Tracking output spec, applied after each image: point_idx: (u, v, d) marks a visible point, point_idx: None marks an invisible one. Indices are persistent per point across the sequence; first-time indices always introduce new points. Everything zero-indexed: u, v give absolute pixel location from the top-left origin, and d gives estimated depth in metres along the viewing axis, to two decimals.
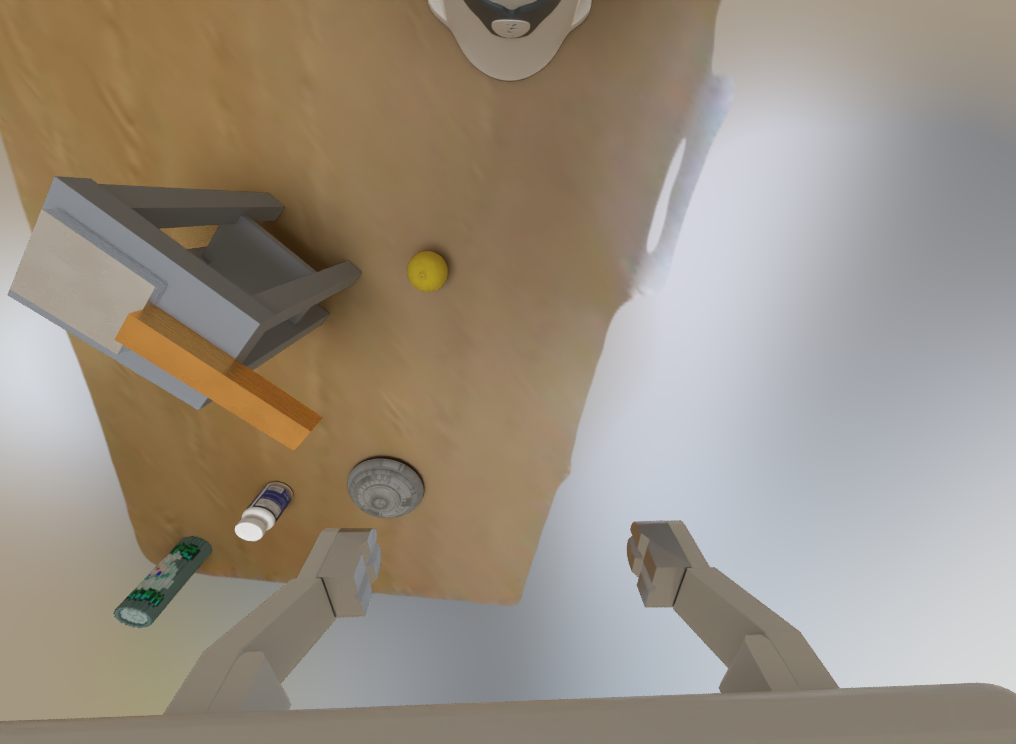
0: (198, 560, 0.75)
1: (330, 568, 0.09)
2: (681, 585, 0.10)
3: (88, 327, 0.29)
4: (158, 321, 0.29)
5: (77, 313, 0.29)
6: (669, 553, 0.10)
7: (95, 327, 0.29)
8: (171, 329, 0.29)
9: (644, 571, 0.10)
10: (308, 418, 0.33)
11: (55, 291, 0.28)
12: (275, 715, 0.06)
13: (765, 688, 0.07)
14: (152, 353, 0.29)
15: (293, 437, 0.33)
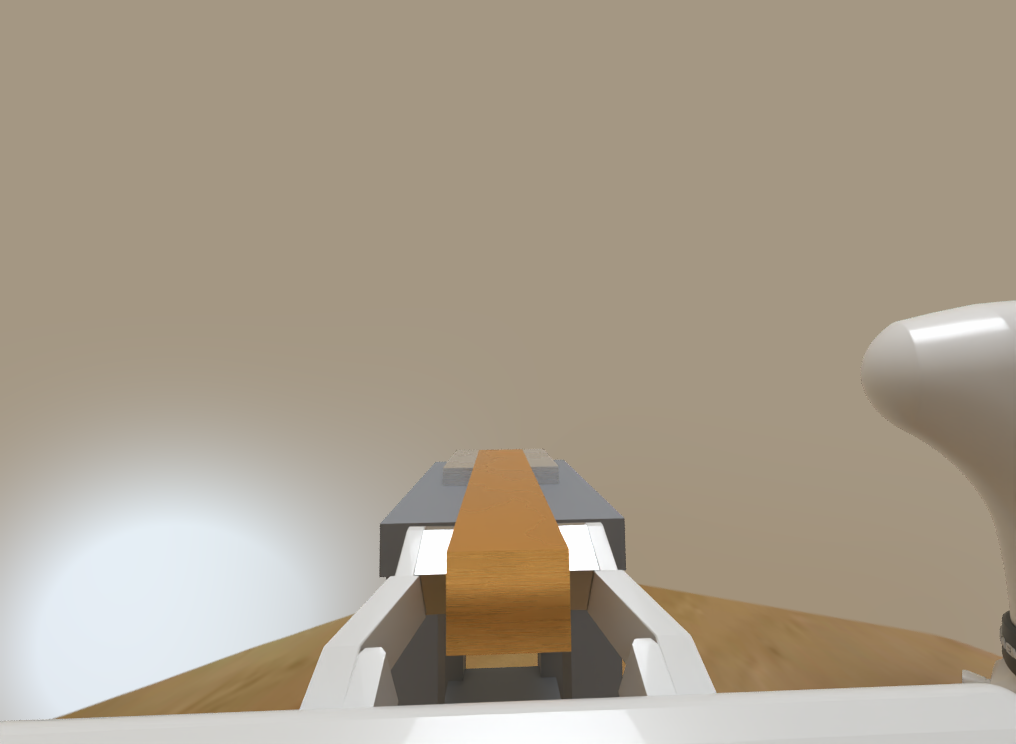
0: None
1: (426, 565, 0.10)
2: (591, 588, 0.10)
3: (459, 461, 0.27)
4: None
5: (469, 458, 0.28)
6: (580, 556, 0.10)
7: (463, 461, 0.27)
8: None
9: None
10: None
11: None
12: (275, 715, 0.06)
13: (643, 693, 0.07)
14: (491, 456, 0.22)
15: (501, 537, 0.09)
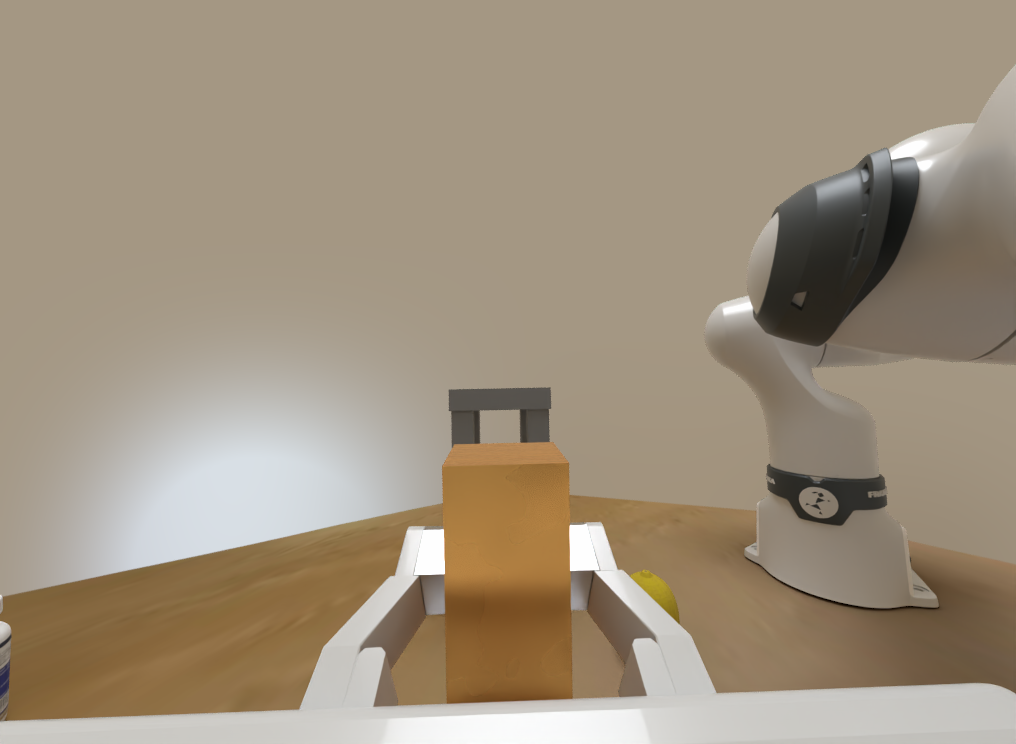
0: None
1: (426, 565, 0.10)
2: (591, 588, 0.10)
3: None
4: None
5: None
6: (580, 556, 0.10)
7: None
8: None
9: None
10: None
11: None
12: (275, 715, 0.06)
13: (643, 693, 0.07)
14: None
15: None
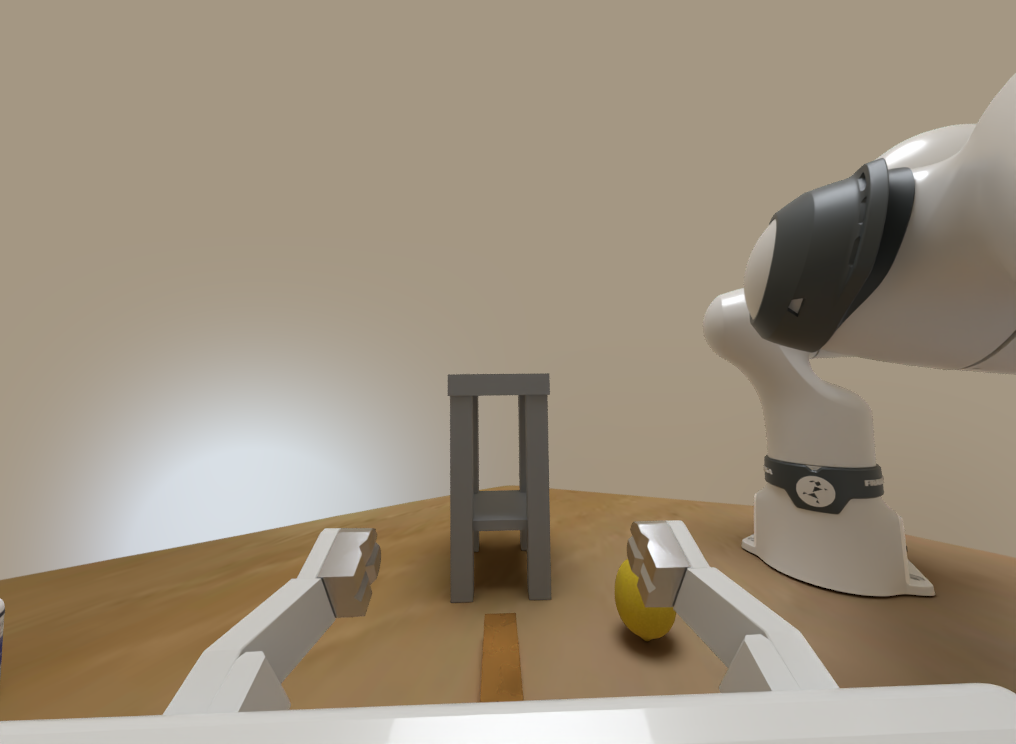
0: None
1: (330, 567, 0.09)
2: (681, 585, 0.10)
3: None
4: None
5: None
6: (669, 553, 0.10)
7: None
8: None
9: (644, 571, 0.10)
10: None
11: None
12: (275, 715, 0.06)
13: (765, 688, 0.07)
14: None
15: None
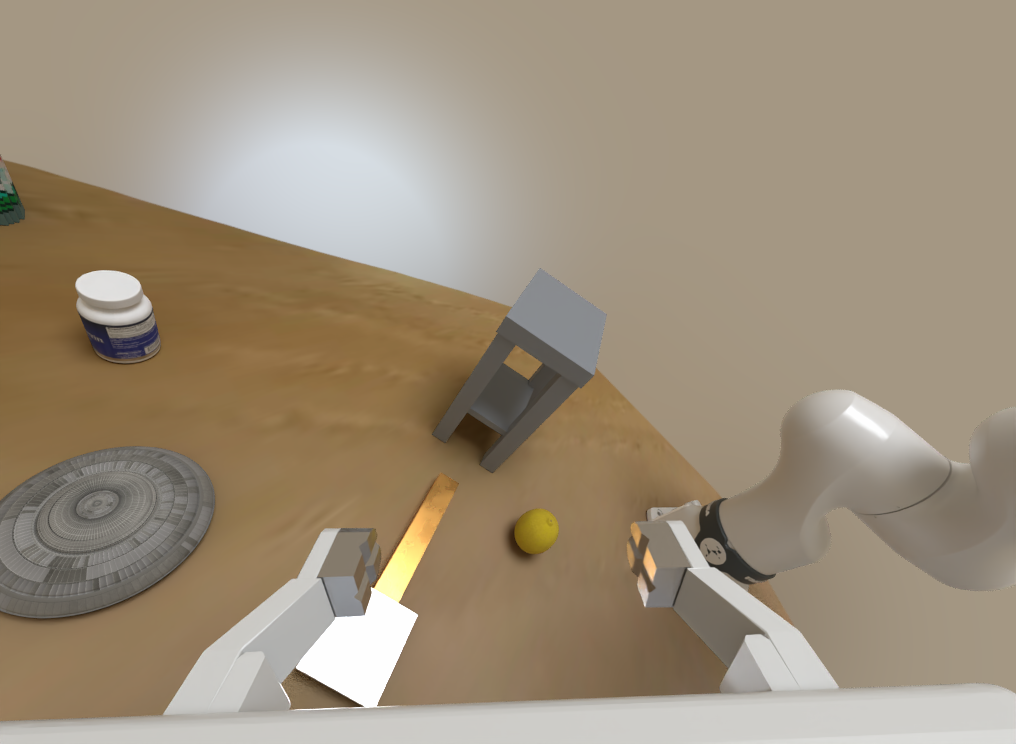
0: None
1: (330, 568, 0.09)
2: (681, 585, 0.10)
3: None
4: None
5: None
6: (669, 553, 0.10)
7: None
8: None
9: (644, 571, 0.10)
10: None
11: None
12: (275, 715, 0.06)
13: (765, 688, 0.07)
14: None
15: None
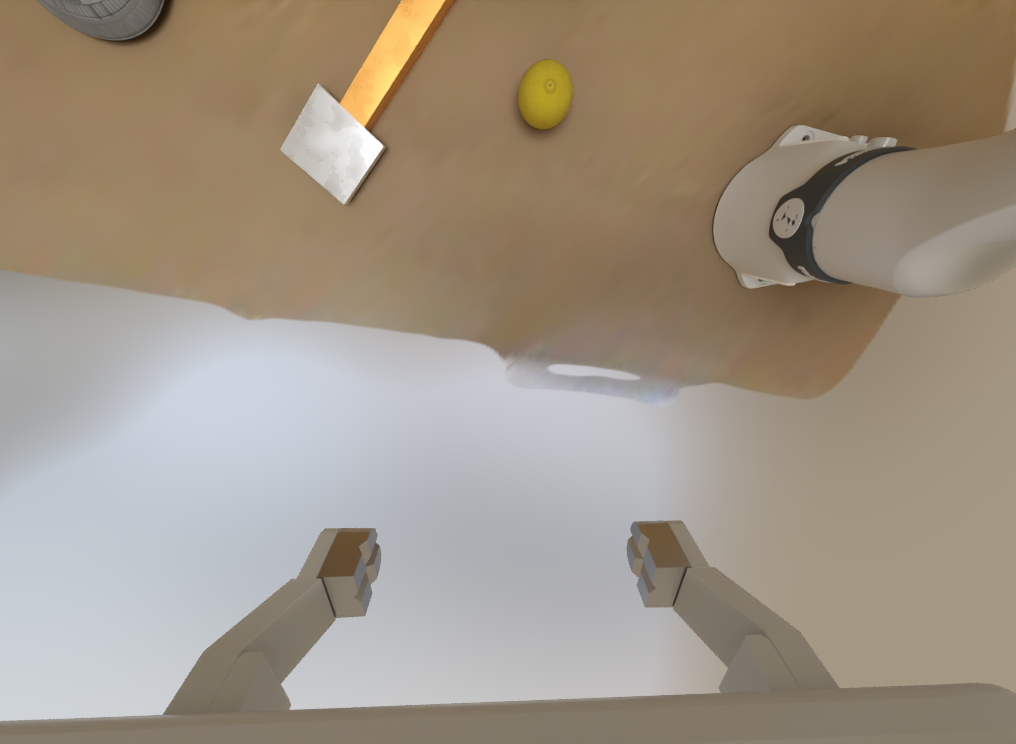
0: None
1: (330, 568, 0.09)
2: (681, 585, 0.10)
3: None
4: (375, 118, 0.39)
5: None
6: (669, 553, 0.10)
7: None
8: (380, 110, 0.39)
9: (644, 571, 0.10)
10: None
11: None
12: (275, 715, 0.06)
13: (765, 688, 0.07)
14: None
15: None
